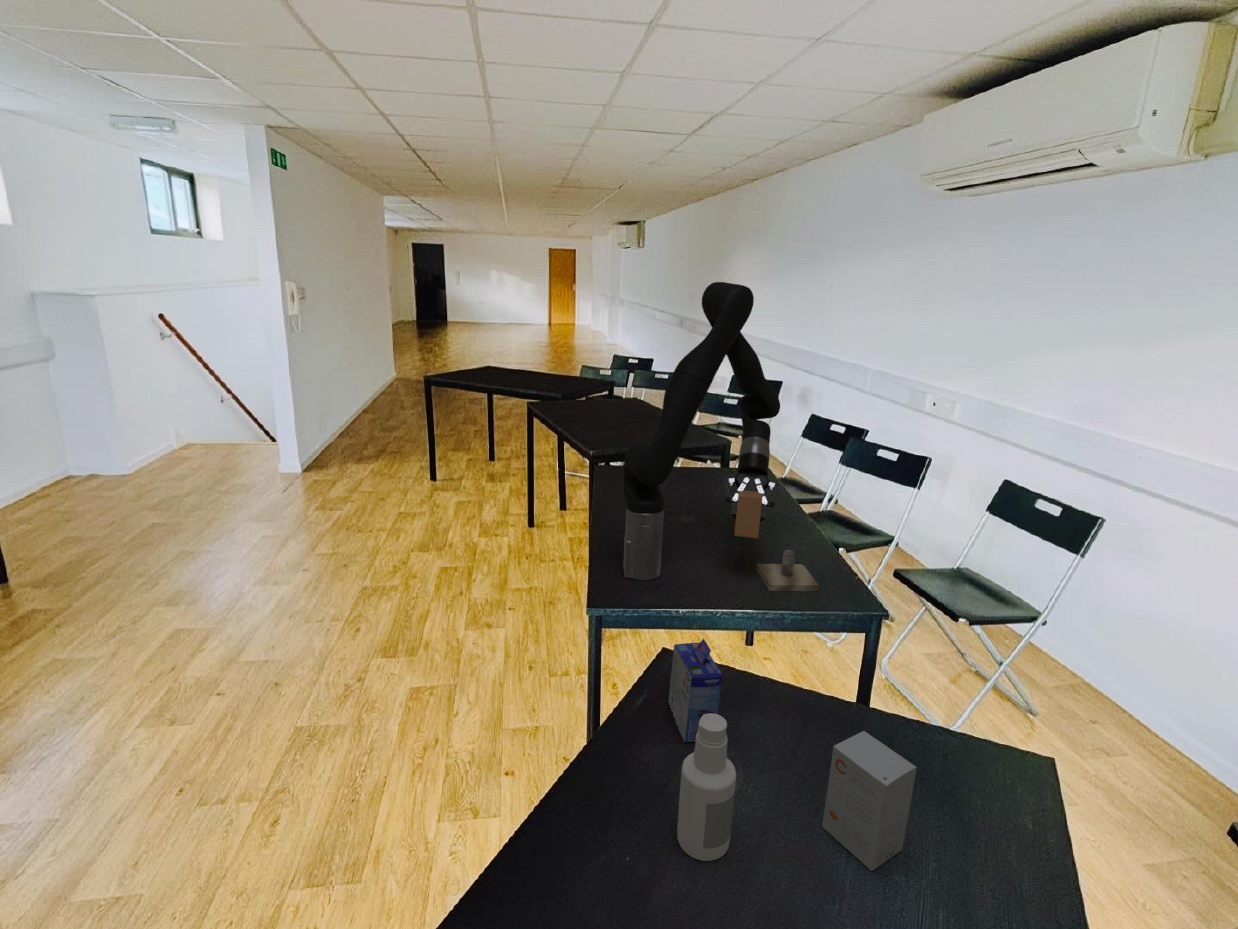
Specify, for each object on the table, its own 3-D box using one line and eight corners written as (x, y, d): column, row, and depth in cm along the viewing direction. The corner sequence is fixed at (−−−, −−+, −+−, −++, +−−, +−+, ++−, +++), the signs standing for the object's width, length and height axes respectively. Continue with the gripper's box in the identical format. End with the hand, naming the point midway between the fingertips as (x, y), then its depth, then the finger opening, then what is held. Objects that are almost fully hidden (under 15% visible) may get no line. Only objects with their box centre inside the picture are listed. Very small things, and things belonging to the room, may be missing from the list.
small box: (903, 851, 82) (919, 767, 78) (871, 873, 78) (887, 786, 75) (851, 808, 88) (863, 729, 85) (820, 827, 85) (832, 745, 82)
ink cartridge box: (718, 741, 100) (725, 661, 97) (684, 745, 99) (690, 664, 95) (697, 702, 110) (703, 628, 106) (667, 706, 109) (672, 630, 105)
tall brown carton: (734, 535, 152) (738, 496, 149) (735, 527, 157) (739, 489, 155) (757, 538, 151) (762, 498, 148) (758, 530, 156) (762, 491, 154)
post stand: (769, 590, 152) (772, 559, 150) (756, 569, 164) (759, 540, 161) (818, 591, 153) (822, 560, 150) (802, 569, 164) (805, 540, 162)
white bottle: (729, 867, 79) (741, 745, 74) (674, 857, 80) (683, 736, 75) (729, 823, 85) (741, 708, 80) (679, 815, 86) (687, 701, 81)
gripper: (725, 448, 158) (718, 508, 150) (784, 454, 155) (780, 515, 147) (724, 463, 164) (717, 522, 156) (781, 469, 161) (777, 529, 153)
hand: (748, 518), depth 151 cm, fingers closed on tall brown carton, 5 cm apart
